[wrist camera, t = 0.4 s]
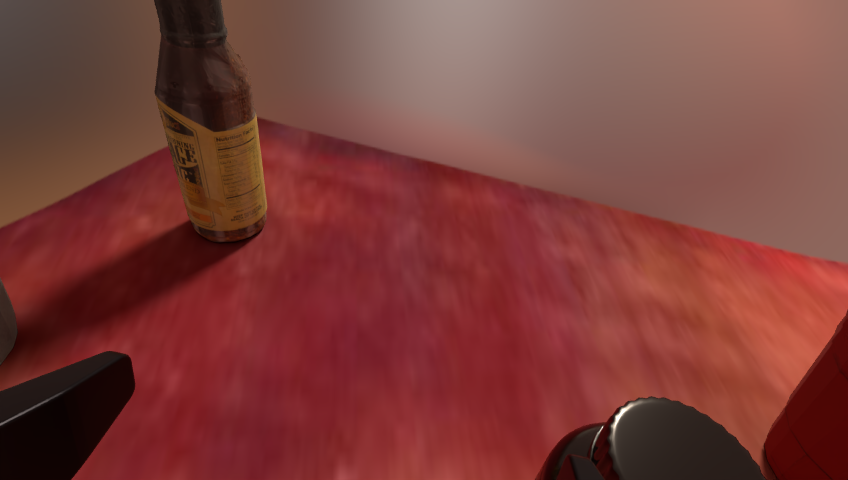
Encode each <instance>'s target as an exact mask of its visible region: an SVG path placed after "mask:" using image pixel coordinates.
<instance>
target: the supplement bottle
mask: <svg viewBox="0 0 848 480" xmlns="http://www.w3.org/2000/svg"><path fill="white" fill-rule="evenodd" d="M569 454H573V455H577V456H582V457H586V458H588V459H590V460H591V461H592V462H593V463H594V465H595V466H596V468H597V469H598V470H599V472H600V473H601V475H602V476H603V478H604V479H605V480H766V479H765V477H764V476H763V475H762V473H761V470H760V467H759V465H758V464H757V463H756V462H755V461H754V460H753V459H752V457H751V455H750V453H749V451H748V450H746V449H745V448H744V447H743V446H742V445H741V444H740V443H739V441H738V440H737V439H736V437H734V436H733V435H731V434H730V433H728V432H727V431H726V429H725V428H724V427H723V426H722V425H720V424H718V423H716V422H714V421H713V420H712V419H711V418H710V417H709V416H708V415H706V414H703V413H700V412H699V411H697V410H696V409H695V408H693V407H691V406H686V405H684V404H683V403H681V402H679V401H671V400H669V399H667V398H656V397H652V396H651V397H648V398H638V399H636V400H635V401H628V402H626V403H625V405H624V406H621V407H619V408H617V409H616V411H615V412H614V414H613V415H612V416H611V417H610V418H609V419H608V421H607V422H602V423H594V424H589V425H586V426H582V427H580V428H577V429H575V430H574V431H572V432H570V433H569V434H567V435H566V436H565V437H563V438H562V439H561V440H560V441H559V442H558V443H557V445H556V446H555V447H554V449H553V450H552V451H551V453H550V454H549V456H548V458H547V459H546V461H545V463H544V464H543V466H542V468H541V470H540V471H539V473H538V475H537V477H536V479H535V480H556V479H557V477H558V474H559V472H560V469H561V467H562V464H563V462H564V460H565V458H566V456H567V455H569Z"/></svg>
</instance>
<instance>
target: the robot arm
mask: <svg viewBox="0 0 848 480" xmlns="http://www.w3.org/2000/svg"><path fill="white" fill-rule="evenodd" d="M134 389H135V379H134V373H133V367H132V361H131V358H130V357H129V356H128V355H126V354H123V353H118V352H114V351H106V352H103V353H100V354H98V355H95V356H92V357H90V358H87V359H84V360H82V361H79V362H77V363H74V364H71V365H69V366H66V367H63V368H61V369H58V370H55V371H53V372H50V373H48V374H45V375H42V376H40V377H37V378H34V379H32V380H29V381H26V382H24V383H21V384H19V385H16V386H13V387H11V388H8V389H5V390H3V391H0V480H71V479H72V478H73V477H74V475H75V474H76V473H77V472H78V470H79V469H80V468H81V467H82V465H83V464H84V463H85V461H86V460H87V459H88V457H89V456H90V455H91V453H92V452H93V450H94V449H95V448H96V446H97V445H98V443H99V442H100V441H101V439H102V438H103V436H104V435H105V433H106V432H107V431H108V429H109V428H110V426H111V425H112V424H113V422H114V421H115V419H116V418H117V416H118V415H119V414H120V412H121V411H122V409H123V408H124V407H125V405H126V404H127V402H128V401H129V399H130V398H131V396H132V395H133V392H134ZM556 480H605V479H604V478H603V476H602V475H601V473H600V472H599V470H598V469H597V468H596V466H595V465H594V463H593V462H592V461H591V460H590V459H588V458H586V457H582V456H577V455H573V454H569V455H567V456H566V458H565V460H564V462H563V464H562V467H561V469H560V472H559V474H558V477H557V479H556Z"/></svg>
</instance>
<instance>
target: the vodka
mask: <svg viewBox="0 0 848 480" xmlns="http://www.w3.org/2000/svg"><path fill="white" fill-rule="evenodd" d="M17 333H18V330H17V324H16V317H15V313H14V310H13V307H12V304H11V301H10V299H9V296H8V294H7V292H6V290H5V288H4V285H3V283H2V281H1V279H0V365H1V364H2V362H3V361H4V360H5V358H6V357H7V355H8V354H9V353H10V351H11V350H12V349H13V347H14V344H15V340H16V337H17Z"/></svg>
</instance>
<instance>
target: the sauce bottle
mask: <svg viewBox="0 0 848 480" xmlns="http://www.w3.org/2000/svg"><path fill="white" fill-rule="evenodd" d="M154 2H155V6H156V9H157V14H158V18H159V22H160V32H161V42H160V51H159V59H158V68H157V77H156V86H155V96H156V99H157V103H158V108H159V110H160V114H161V118H162V121H163V126H164V129H165V133H166V137H167V141H168V145H169V148H170V152H171V155H172V159H173V163H174V167H175V170H176V173H177V177H178V181H179V184H180V188H181V192H182V195H183V199H184V202H185V206H186V210H187V213H188V216H189V218H190V220H191V223H192V225H193V227H194V229H195V230H196V231H197V232H198V233H199V234H200V235H201V236H203V237H205V238H207V239H208V240H210V241H213V242H232V241H238V240H242V239H246V238H248V237H251V236H252V235H254V234H256V233H257V232H259V231H260V230H261V229H262V228H263V227H264V224H265V222H266V209H267V201H266V194H265V185H264V176H263V167H262V159H261V151H260V143H259V134H258V126H257V117H256V111H255V109H254V107H253V100H252V92H251V81H250V76H249V74H248V71H247V68H246V67H245V65H244V64H243V62H242V60H241V58H240V56H239V55H238V54H236V53H235V52H234V50H233V49H232V47H231V46H230V44H229V43H228V42H227V40H226V37H227V35H228V34H227V28H226V27H225V25H224V18H223V11H222V5H221V0H154Z"/></svg>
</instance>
